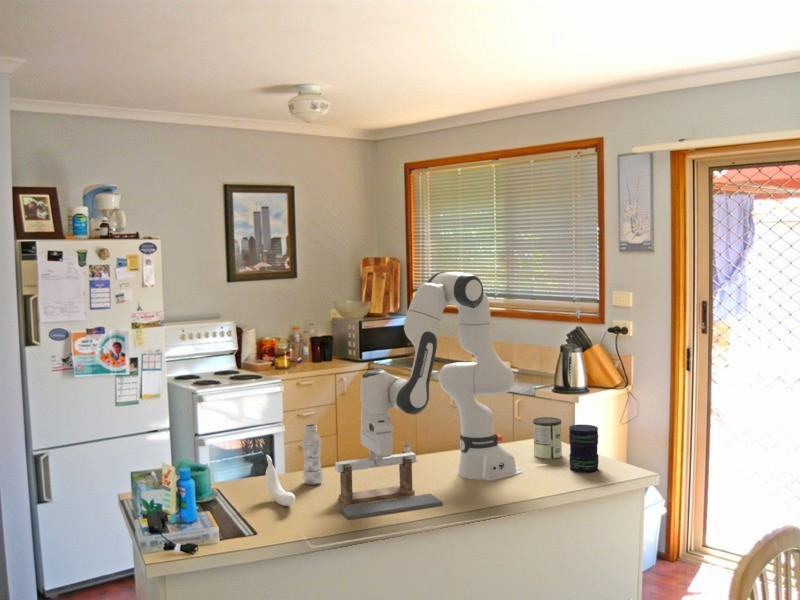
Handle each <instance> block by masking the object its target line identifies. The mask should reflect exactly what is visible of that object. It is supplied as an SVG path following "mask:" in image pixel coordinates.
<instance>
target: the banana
mask: <svg viewBox="0 0 800 600" xmlns="http://www.w3.org/2000/svg"><path fill="white" fill-rule="evenodd" d="M265 458H266V462H267V464H268V465H267V468H266V471H265V482H266V483H265V484H266V486H267V490H268V492H269V493H270V496H271V497H272V499H273V500H274V501H275V502H276V503H277V504H279V505H281V506H284V507H288V506H291V505H293V504H294V503H295V501H296V495H295V494H294V493H293V492H290V491H286V490H285V489H284V488H283V486H282V485H281V482H280V479H279V476H278V472H277V470H276V467H274V465H273V460H272V458H271V456H270V455H269V454H266V455H265Z"/></svg>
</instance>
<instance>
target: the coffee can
mask: <svg viewBox="0 0 800 600" xmlns="http://www.w3.org/2000/svg"><path fill="white" fill-rule="evenodd" d="M532 423H533V456H534V458H537V459H540V460H541V459H542V460H549V461H550V460H557V459H561V458H562V457H563V455H562V454H563V453H562V451H563V450H562V419H560V418H558V417H554V416H553V417H549V416H543V417H535V418H533V420H532Z"/></svg>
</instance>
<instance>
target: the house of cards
mask: <svg viewBox="0 0 800 600" xmlns="http://www.w3.org/2000/svg"><path fill="white" fill-rule="evenodd" d="M410 452H411V446H410V443H409V442H406V443H405V444H404V450H402V452H401V454H402V453H410ZM416 462H418V459H417V458H416Z"/></svg>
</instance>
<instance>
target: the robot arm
mask: <svg viewBox="0 0 800 600" xmlns="http://www.w3.org/2000/svg"><path fill="white" fill-rule="evenodd" d="M447 306H456V308H457V310H458V313H457V314H458V316H457V320H458V321H457V323H458V324H457V325H458V326H457V327H458V343H459V346H460V348H461V349H462V350H464V351H465V352H467V353H469V354H471V355H473V356H474V357H475V359H476V362H474V361H473V362H470V361H469V362H467V361H466V362H462V361H461V362H460V361H459V362H453V363H452V362H451V363H447V364H444V365H443V366H442V367H441V369H440V371H439V373H438V384H439V386H440V387H441V389H442V391H444V393H446V394H447V395H448V396H450V397H451V399H452V400H453V401H454V403H455V404H456V407H457V410H458V412H459V418H460V419H459V420H460V421H459V422H460V434H459V451H460V458H459V464H458V465H459V466H458V470H457V476H459V477H462V478H464V479H469V480H481V481H488V482H490V481H494V480H500V479H505V478H508V477H513V476H517V475H520V474H523V470H522V469H521V468H520V467H519V466H516V465H517V464H516V461H515V457H514V455H513V454H512V453H511V452H510V451H508V450H507V449H506V448H504V447H503V446H501V445H500V444H499V442H500V443H502V442H503V441H504V439H505V437H504V436H503V435H501V434H496V433H494V413H493V411H492V410H491V408H489V407H488V406H487V405H485V404H483V403H480V402H479V401H478V400H477V398H476V396H475V395H477V396H478V395H479V396H480V395H481V396H483V395H484V396H487V395H488V396H490V395H491V396H496V395H502V394H506V393H507V394H508V393H509V392H510V391H511V390H512V389H513V386H514V383H515V373H514V371H513V370H512V368H511V367H510V365H508V363H506V362H504V360H502V358H500V356H499V355H498V353H497V352H496V350H495V347H494V344H493V338H492V336H493V335H492V316H491V308H490V303H489V298H488V296H487V294H486V293H485V292H484V286H483V282H482V281H481V280H480V278H479V277H478V276H476V275H475V274H472V273H468V272H466V273H464V272H462V271H461V272H460V271H450V272H445V271H440V272H437V273H434V274H433V275H431V276H430V277H429V279H428V281H427V282H424V283H422V284H420V286H418V288H417V289H416V292H414V296H413V297H412V300H411V302H410V304H409V307H408V310H407V313H406V315H405V318H404V325H403V330H404V333H405V336H406V337H407V339H408V340H409V341H410V342H411V343H412V345H413V347H414V353H415V354H414V359H413V362H412V367H411V371H410V375H409V378H408V379H406V378H403V377H399V376H396V375H393V374H391V373H389V372H387V371H386V370H385V369H382V368H377V369H371V370H370V369H369V370H367V371H365V372H364V373H363V374H362V375H361V379H360V386H359V387H360V389H359V392H360V393H359V395H360V397H359V398H360V399H359V400H360V402H361V409H360V444H361V445H363V447H365V448H367V449H368V453H369V458H371V457H376V461H375V465H376V466H377V467H376V468H381V466H382V460H383V457H390V456H391V455H393V451H394V450H393V449H394V447H393V445H394V441H393V440H394V439H393V437H394V436H393V431H394V430H395V426H394V423H393V422H392V421H391V418H390V412H389V410H390V408H395V409H397V410H401V411H402V412H404V413H406V414H407V415H411V416H413V415H419V414H420V413H422V412H423V411H424V410H425V409H426V407H427V406H428V404H429V400H430V381H431V376H432V372H433V367H434V362H435V358H436V353H437V346H438V339H437V338H438V331H439V326H440V323H441V320H442V317H443V313H444V310H445V309H446V307H447Z"/></svg>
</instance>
